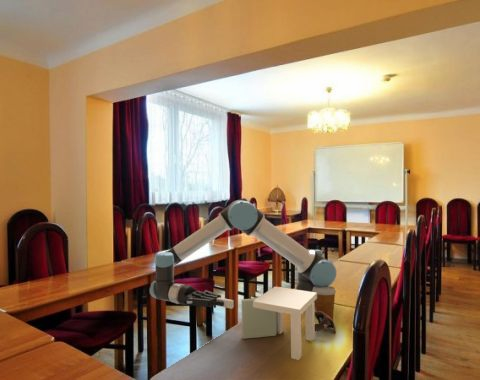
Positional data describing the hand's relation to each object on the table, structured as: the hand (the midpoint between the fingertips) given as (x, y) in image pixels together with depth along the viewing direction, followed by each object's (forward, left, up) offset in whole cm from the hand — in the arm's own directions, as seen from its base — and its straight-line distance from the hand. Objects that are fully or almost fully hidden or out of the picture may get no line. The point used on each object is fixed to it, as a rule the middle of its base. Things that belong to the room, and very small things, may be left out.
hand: (232, 304), depth 120 cm
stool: (-1, +21, -10) cm, 23 cm away
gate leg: (-2, +10, -10) cm, 15 cm away
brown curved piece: (-17, +28, -11) cm, 35 cm away
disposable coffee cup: (-29, +26, -11) cm, 41 cm away
